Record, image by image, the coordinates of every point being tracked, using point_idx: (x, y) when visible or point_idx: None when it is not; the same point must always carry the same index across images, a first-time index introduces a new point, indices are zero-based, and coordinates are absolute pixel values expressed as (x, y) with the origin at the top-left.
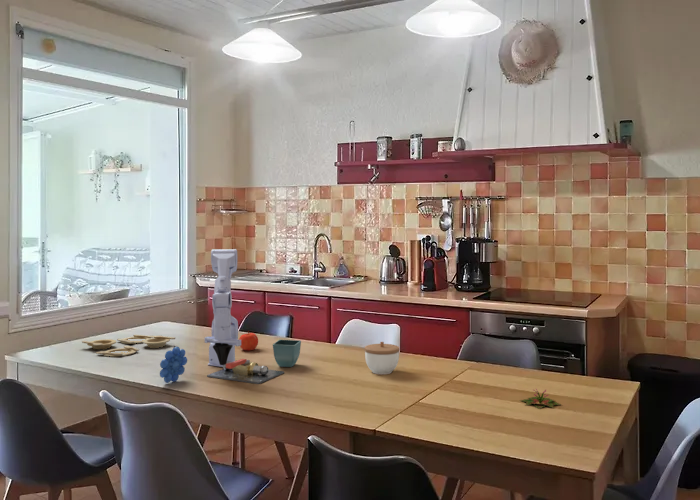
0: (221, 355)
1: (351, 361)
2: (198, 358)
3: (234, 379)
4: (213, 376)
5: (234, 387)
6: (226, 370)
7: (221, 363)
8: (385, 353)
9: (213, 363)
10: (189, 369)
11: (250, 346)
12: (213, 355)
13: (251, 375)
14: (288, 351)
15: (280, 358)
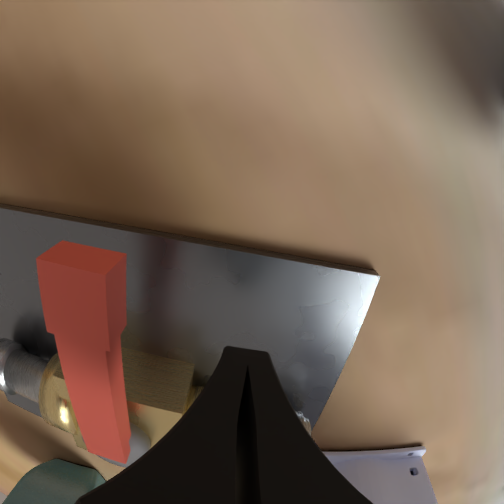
0: (213, 426)
1: (3, 471)
2: (462, 472)
3: (96, 223)
4: (315, 262)
5: (31, 69)
6: None
7: (239, 355)
8: None
9: (400, 460)
10: (497, 368)
11: None
12: (409, 492)
13: None
14: (27, 498)
15: (67, 487)
